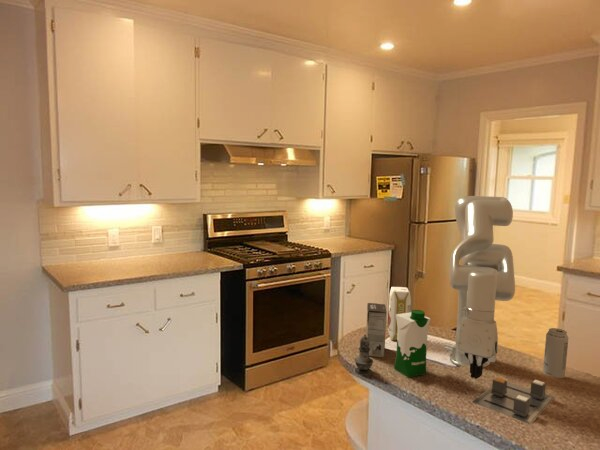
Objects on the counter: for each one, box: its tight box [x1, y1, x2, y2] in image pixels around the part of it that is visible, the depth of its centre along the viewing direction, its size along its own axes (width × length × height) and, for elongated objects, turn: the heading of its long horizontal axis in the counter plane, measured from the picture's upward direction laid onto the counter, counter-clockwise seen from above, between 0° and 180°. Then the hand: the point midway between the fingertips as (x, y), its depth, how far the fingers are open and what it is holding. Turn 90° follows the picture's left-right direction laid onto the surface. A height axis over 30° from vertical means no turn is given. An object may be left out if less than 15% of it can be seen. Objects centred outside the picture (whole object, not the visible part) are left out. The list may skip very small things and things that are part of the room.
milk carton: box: [394, 309, 432, 378], centre depth 142 cm, size 9×9×20 cm
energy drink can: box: [542, 327, 569, 379], centre depth 141 cm, size 6×6×15 cm
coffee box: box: [365, 302, 387, 358], centre depth 158 cm, size 9×6×16 cm
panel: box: [471, 381, 556, 425], centre depth 124 cm, size 15×20×1 cm
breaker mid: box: [491, 376, 508, 397], centre depth 126 cm, size 3×4×4 cm
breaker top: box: [530, 379, 547, 400], centre depth 125 cm, size 3×4×4 cm
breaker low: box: [512, 395, 530, 417], centre depth 116 cm, size 3×4×4 cm
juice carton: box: [387, 286, 412, 341], centre depth 172 cm, size 8×9×19 cm
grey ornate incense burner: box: [354, 334, 374, 376], centre depth 142 cm, size 6×6×12 cm
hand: (475, 376), depth 130 cm, fingers closed
